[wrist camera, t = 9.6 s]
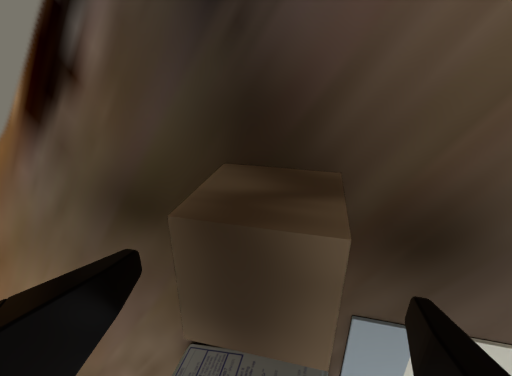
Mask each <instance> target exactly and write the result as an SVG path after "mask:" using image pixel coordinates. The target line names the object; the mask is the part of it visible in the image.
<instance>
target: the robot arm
mask: <svg viewBox="0 0 512 376" xmlns="http://www.w3.org/2000/svg"><path fill="white" fill-rule="evenodd" d="M141 273H142V266H141V261H140V256H139V252H138V251H136V250H132V249H125V250H122V251H120V252H117V253H115V254H112V255H110V256H108V257H105V258H103V259H100V260H98V261H95V262H93V263H91V264H88V265H86V266H83V267H81V268H78V269H76V270H74V271H71V272H69V273H66V274H64V275H62V276H59V277H57V278H54V279H52V280H49V281H47V282H45V283H42V284H40V285H37V286H35V287H32V288H30V289H28V290H25V291H23V292H20V293H18V294H15V295H13V296H11V297H9V298H8V299H3V300H1V301H0V376H76V374H77V373H78V371H79V370H80V369H81V367H82V366H83V364H84V363H85V361H86V360H87V359H88V357H89V356H90V354H91V353H92V351H93V350H94V349H95V347H96V346H97V344H98V343H99V341H100V340H101V338H102V337H103V336H104V334H105V333H106V331H107V330H108V328H109V327H110V326H111V324H112V323H113V321H114V320H115V318H116V317H117V315H118V314H119V312H120V311H121V309H122V307H123V305H124V304H125V302H126V300H127V298H128V297H129V295H130V293H131V291H132V290H133V288H134V286H135V284H136V283H137V281H138V279H139V277H140V275H141ZM405 327H406V333H407V339H408V345H409V351H410V358H411V364H412V370H413V375H414V376H511V375H510V374H509V373H508V372H507V371H506V370H504V369H503V368H502V367H501V366H500V365H499V364H498V363H497V362H496V361H495V360H494V359H493V358H492V357H491V356H489V355H488V354H487V353H486V352H485V351H484V350H483V349H482V348H481V347H480V346H479V345H478V344H477V343H476V342H475V341H473V340H472V339H471V338H470V337H469V336H468V335H467V334H466V333H465V332H464V331H463V330H462V329H461V328H460V327H458V326H457V325H456V324H455V323H454V322H453V321H452V320H451V319H450V318H449V317H448V316H447V315H446V314H445V313H443V312H442V311H441V310H440V309H439V308H438V307H437V306H436V305H435V304H434V303H433V302H432V301H431V300H429V299H427V298H422V297H416V296H414V297H412V298H411V300H410V303H409V307H408V310H407V313H406V316H405Z"/></svg>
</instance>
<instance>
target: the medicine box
mask: <svg viewBox="0 0 512 376" xmlns="http://www.w3.org/2000/svg"><path fill="white" fill-rule="evenodd" d="M172 376H328V372H327V371H323V370H319V369H314V368H310V367H306V366H301V365H297V364H292V363H288V362H284V361H279V360H275V359H270V358H266V357H262V356H257V355H253V354H248V353H244V352H240V351H235V350H231V349H226V348H220V347H213V346H205V345H197V344H190V346H189V347H188V348H187V350H186V351H185V353H184V355H183V357H182V358H181V360H180V362H179V364H178V366H177V367H176V369H175V371H174V373H173V375H172Z"/></svg>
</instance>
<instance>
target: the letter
mask: <svg viewBox="0 0 512 376" xmlns="http://www.w3.org/2000/svg"><path fill="white" fill-rule="evenodd" d="M471 339H472V340H473V341H475V342H476V343H477V344H478V345H479V346H480V347H481V348H482V349H483V350H484V351H485V352H486V353H487V354H488V355H489V356H491V357H492V358H493V359H494V360H495V361H496V362H497V363H498V364H499V365H500V366H501V367H502V368H503V369H504V370H506V371H507V372H508V373H509V374H510V375H511V376H512V345H508V344H502V343H497V342H491V341H486V340H481V339H475V338H471ZM340 376H414V375H413V370H412V364H411V358H410V351H409V345H408V339H407V333H406V327H405V325H400V324H394V323H389V322H384V321H378V320H373V319H368V318H362V317H357V316H352V320H351V325H350V330H349V335H348V340H347V344H346V349H345V354H344V359H343V364H342V369H341V374H340Z"/></svg>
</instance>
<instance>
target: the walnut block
mask: <svg viewBox="0 0 512 376" xmlns="http://www.w3.org/2000/svg"><path fill="white" fill-rule="evenodd" d="M167 217H168V225H169V232H170V239H171V246H172V254H173V261H174V268H175V275H176V282H177V290H178V297H179V304H180V311H181V319H182V326H183V333H184V339H187V340H191V341H196V342H200V343H204V344H209V345H213V346H218V347H222V348H226V349H231V350H235V351H240V352H244V353H248V354H253V355H257V356H262V357H266V358H270V359H275V360H279V361H284V362H288V363H292V364H297V365H301V366H306V367H310V368H314V369H319V370H323V371H327V372H329V366H330V360H331V354H332V349H333V343H334V337H335V331H336V326H337V320H338V314H339V309H340V303H341V297H342V291H343V286H344V280H345V274H346V268H347V263H348V257H349V251H350V246H351V234H350V227H349V221H348V214H347V208H346V201H345V195H344V188H343V182H342V175H341V173H337V172H325V171H313V170H301V169H289V168H277V167H265V166H253V165H241V164H229V163H224V164H223V165H222V166H221V167H220V168H219V169H217V170H216V171H215V172H214V173H213V174H212V175H211V176H210V177H209V178H208V179H207V180H206V181H205V182H203V183H202V184H201V185H200V186H199V187H198V188H197V189H196V190H195V191H194V192H193V193H192V194H191V195H189V196H188V197H187V198H186V199H185V200H184V201H183V202H182V203H181V204H180V205H179V206H178V207H177V208H175V209H174V210H173V211H172V212H171V213H170V214H169V215H168V216H167Z"/></svg>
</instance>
